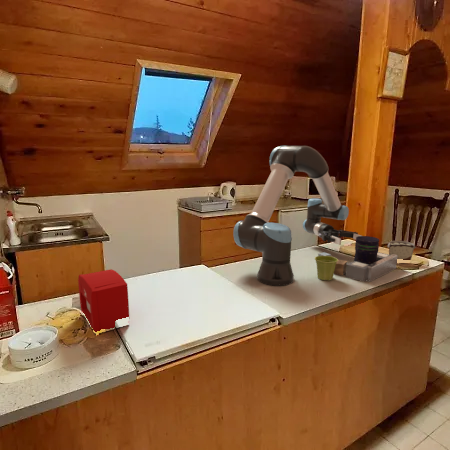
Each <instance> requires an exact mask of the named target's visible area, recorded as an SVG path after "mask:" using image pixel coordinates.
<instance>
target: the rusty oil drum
mask: <svg viewBox="0 0 450 450" xmlns="http://www.w3.org/2000/svg"><path fill="white" fill-rule="evenodd" d="M379 244H380V238H377V237H374V236H369V235H361V236H358V237H356V240H355V243H354V246H355V247H354V250H355V251H354V257H353V262H354V261H357V262H361V263H365V264H368V265H370V264H372V263H375V262H377V253H378V252H379V247H380V245H379Z"/></svg>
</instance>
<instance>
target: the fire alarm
mask: <svg viewBox="0 0 450 450" xmlns="http://www.w3.org/2000/svg"><path fill="white" fill-rule="evenodd" d="M77 283H78V296H79V305H80V311H81V312H82V311H83V313H84V314H85V316H86V318H87V319H88V321H89V323H90V325H91V327H92V328H93V330H94V331H95V332H97V331H100V330H101V329H110V328H114V327H115V321H116V320H118V319H122V318H126V317H129V318H130V307H129V306H130V305H129V304H130V303H129V290H128V283H127V282H126V280H125V279H124V278H123V277H122V275H120V274H119V273H118V272H117V271H116V270H114V269H111V268H110V269H105V270H100V271H96V272H95V271H94V272H90V273H89V272H88V273H84V274H83V273H81V274H79V275H78V279H77Z"/></svg>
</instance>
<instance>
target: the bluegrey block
mask: <svg viewBox="0 0 450 450" xmlns="http://www.w3.org/2000/svg"><path fill="white" fill-rule="evenodd" d="M317 254H318V255H317V256H331V257H332V254H331V253H327V252H324V251H323V252H320V253H317Z"/></svg>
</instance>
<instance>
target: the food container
mask: <svg viewBox="0 0 450 450" xmlns="http://www.w3.org/2000/svg"><path fill="white" fill-rule="evenodd" d="M387 248H388V254H389V255H392V254H395V255H398V257H397V259H403V260H411V261H412V258H413V253H414V249H416V244H415V243H413V242H409V241H405V240H391V241H389V242H388V243H387Z"/></svg>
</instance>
